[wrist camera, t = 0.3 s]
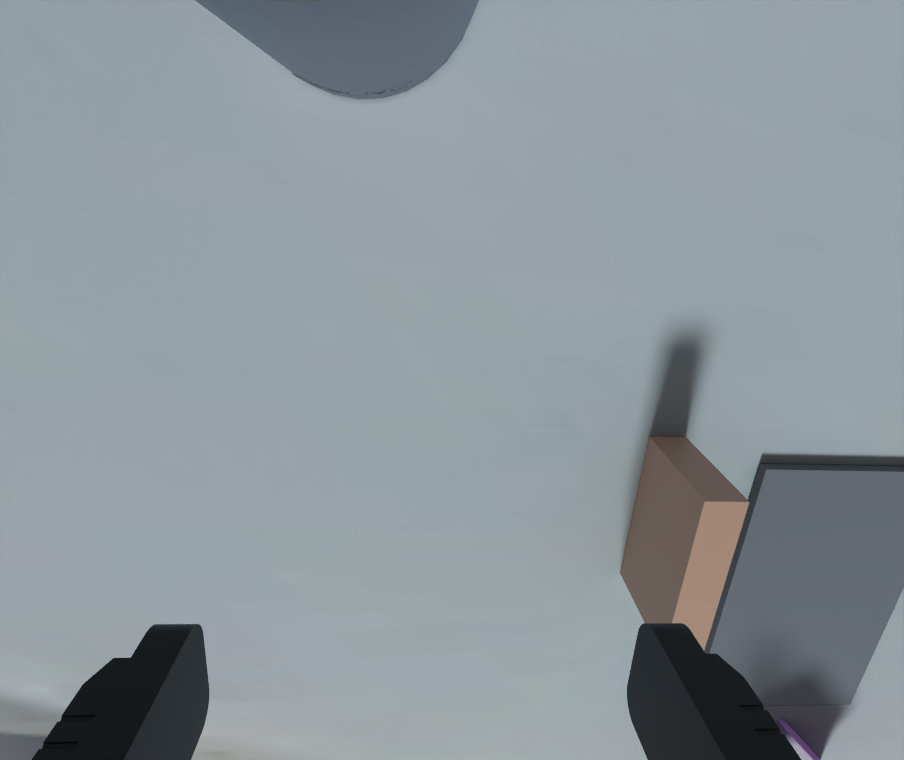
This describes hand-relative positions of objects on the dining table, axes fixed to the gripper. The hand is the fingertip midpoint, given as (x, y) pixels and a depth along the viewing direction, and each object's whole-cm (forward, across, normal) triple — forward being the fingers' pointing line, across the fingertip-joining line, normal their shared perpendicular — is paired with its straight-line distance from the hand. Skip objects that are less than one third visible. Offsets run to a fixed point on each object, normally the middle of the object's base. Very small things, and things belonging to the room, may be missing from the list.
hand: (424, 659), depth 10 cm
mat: (+18, -24, +14) cm, 33 cm away
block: (+18, -13, +8) cm, 24 cm away
